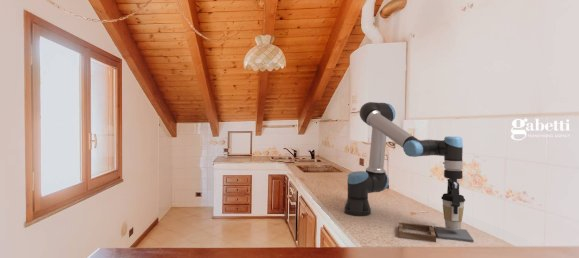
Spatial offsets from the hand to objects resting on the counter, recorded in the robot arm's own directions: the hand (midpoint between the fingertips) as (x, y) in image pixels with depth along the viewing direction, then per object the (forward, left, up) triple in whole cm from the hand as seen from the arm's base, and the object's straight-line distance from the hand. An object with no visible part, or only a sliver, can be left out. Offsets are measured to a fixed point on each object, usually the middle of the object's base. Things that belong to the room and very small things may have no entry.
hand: (452, 217), depth 140 cm
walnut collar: (+5, -16, -8) cm, 19 cm away
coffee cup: (0, 0, -5) cm, 5 cm away
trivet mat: (0, 0, -8) cm, 8 cm away
